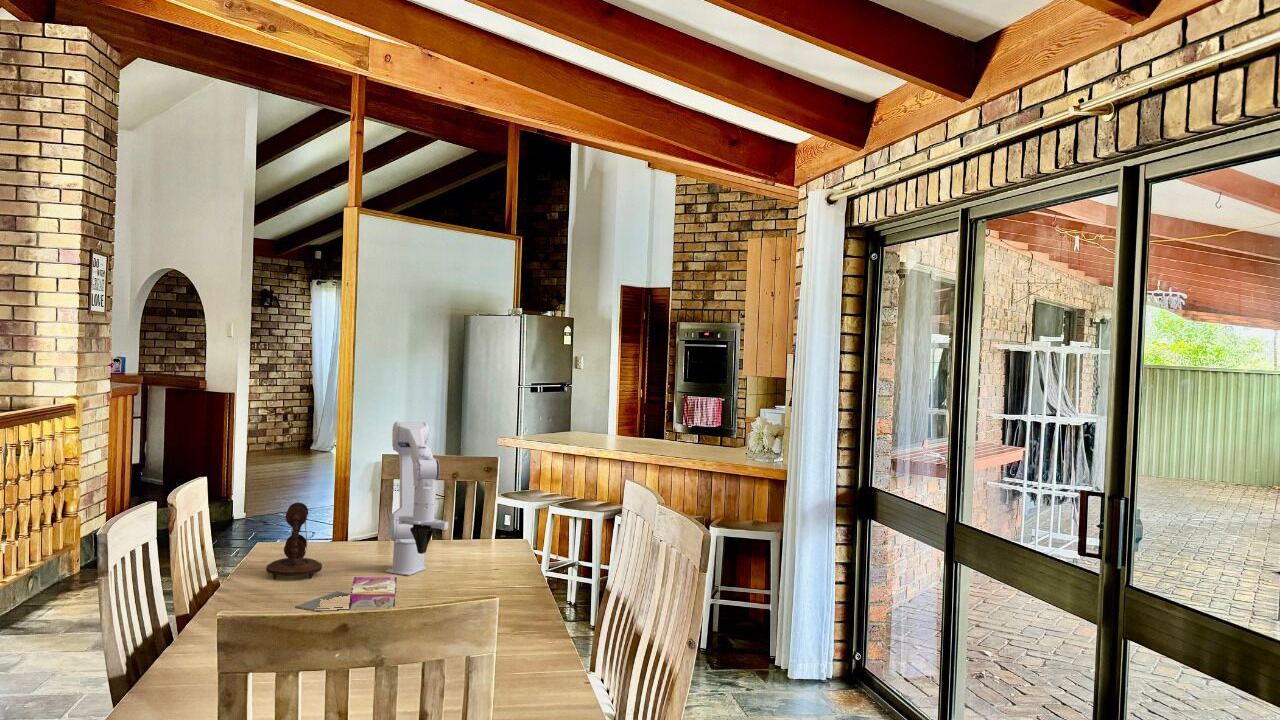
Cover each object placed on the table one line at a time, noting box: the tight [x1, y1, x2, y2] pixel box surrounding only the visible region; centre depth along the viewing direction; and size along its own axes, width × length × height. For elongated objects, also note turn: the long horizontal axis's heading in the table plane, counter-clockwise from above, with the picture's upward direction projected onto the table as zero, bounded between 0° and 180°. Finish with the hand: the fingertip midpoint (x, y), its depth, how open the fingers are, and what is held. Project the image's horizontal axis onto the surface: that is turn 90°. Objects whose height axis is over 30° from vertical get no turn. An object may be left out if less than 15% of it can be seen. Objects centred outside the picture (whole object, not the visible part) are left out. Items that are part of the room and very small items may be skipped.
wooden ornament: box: [265, 502, 323, 580], centre depth 252 cm, size 15×15×20 cm
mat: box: [294, 590, 351, 613], centre depth 226 cm, size 16×17×1 cm
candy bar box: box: [349, 576, 398, 610], centre depth 228 cm, size 11×5×16 cm
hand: (421, 552), depth 242 cm, fingers closed
